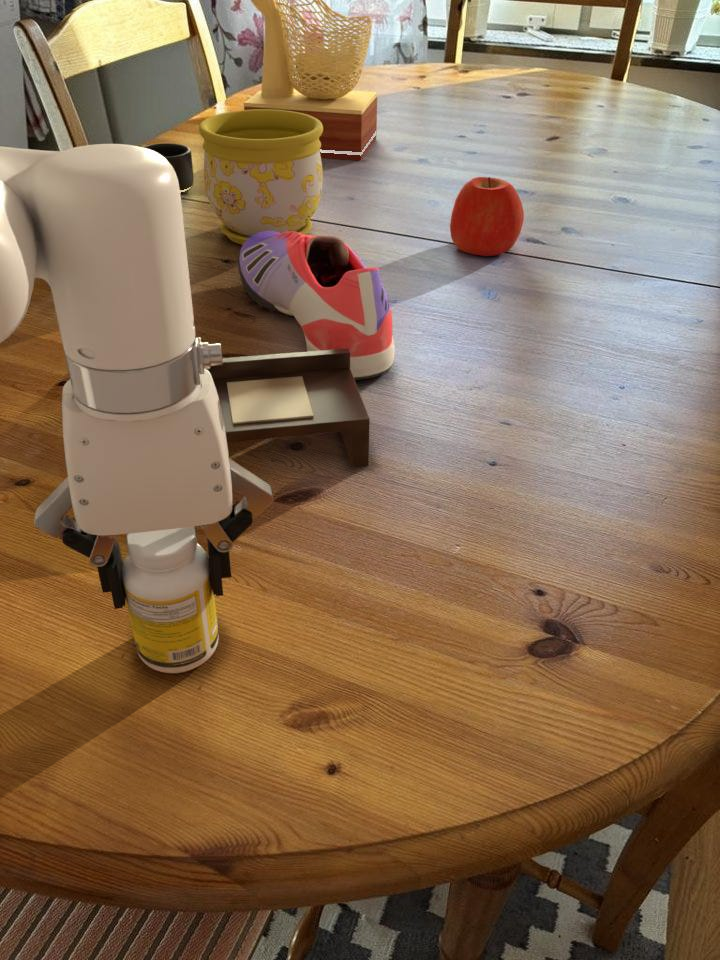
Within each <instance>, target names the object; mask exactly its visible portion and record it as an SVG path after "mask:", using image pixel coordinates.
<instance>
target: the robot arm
mask: <svg viewBox="0 0 720 960" xmlns="http://www.w3.org/2000/svg"><path fill="white" fill-rule="evenodd" d="M143 147H144V146H138V145H132V144H123V143H98V144H87V145H80V146H74V147H70V148H67V149H64V150H61V151H60V150H43V149H42V150H41V149H31V148H19V147H11V146H10V147H9V146H1V145H0V344H1V343H3V342H4V341H5V340H7V339H8V338H10V337H11V336H12V334H13V333H14V332H15V331H16V330H17V329H18V327H19V326H20V325H21V323H22V322H23V320H24V319H25V316H26V315H27V312H28V310H29V307H30V304H31V300H32V299H31V298H32V295H33V290H34V285H35V280H36V279H41V280H44V281H45V282H46V283H47V284H48V286H49V287H50V291H51V296H52V300H53V305H54V311H55V315H56V319H57V324H58V329H59V334H60V338H61V343H62V348H63V352H64V357H65V361H66V367H67V370H68V376H69V379H68V380H67V381H66V383H64V385H63V387H62V394H61V395H62V396H61V416H62V417H61V419H62V436H63V437H62V439H63V449H64V458H65V459H64V460H65V467H66V472H67V473H66V474H67V476H66V478H64V480H63V481H62V482H60V484H59V485H58V486H57V487H56V488H54V490H53V491H52V492H51V493H50V494H49V495H48V496H47V498H45V500H44V501H42V503H41V504H40V505H38V507H37V508H36V509H35V513H34V520H33V525H34V527H35V528H37V530H40V531H42V532H44V533H46V534H47V535H49V536H51V537H53V538H55V539H59V540H61V541H62V543H63V545H65V546H66V547H67V548H70V549H71V550H74V551H75V552H77V553H79V554H81V555H83V556H85V557H87V558H89V564H90V565H92V566H93V567H96V569H97V574H98V578H99V582H100V586H101V591H102V593H104V594H105V593H111V598H112V603H113V608H114V609H115V610H117V609H123V607H125V606H126V597H125V592H124V587H123V582H122V566H123V563H124V560H123V556H122V555H123V554H122V550H121V545H120V542H119V540H118V541H117V537H118V536H119V535H127V534H130V533H140V532H149V531H158V530H167V529H176V528H184V527H192V526H194V527H199V528H200V529H201V531H202V532H203V533H204V535H205V536H206V540H207V555H208V557H209V563H210V572H211V580H212V589H213V595H214V596H215V597H223V596H224V588H223V587H224V586H223V579H229V578H232V570H231V568H232V567H231V558H230V551H231V550H232V549H233V547H234V546H233V545H234V544H233V543H234V542H235V541H236V540H237V539H238V538H240V536H241V535H242V534H244V532H245V531H247V530H248V529H249V528H250V527H251V526H252V525H253V521H254V520H255V518H256V517H257V518H258V517H259V516H260V515H261V514H262V513H263V512H264V511H266V509H267V508H268V507H269V506H270V505H271V504H272V503H273V502H274V494H273V488H272V486H271V484H270V483H268V482H266V481H265V480H263V479H262V478H260V477H259V476H257V475H256V474H254V473H252V472H251V471H250V470H248V469H246V468H245V467H244V466H242V465H241V464H239V463H238V462H236V461H234V460H233V459H231V458H230V453H229V447H228V443H227V439H226V433H225V426H224V420H223V414H222V410H221V405H220V401H219V398H218V394H217V390H216V387H215V384H214V381H213V379H212V376H211V374H210V372H209V371H208V370H206V369H210V368H211V367H210V366H217V365H223V361H222V358H223V351H222V344H221V343H209V342H208V341H203V342H202V338H201V337H199V336H197V337H196V326H195V316H194V308H193V307H194V306H193V301H192V299H193V298H192V290H191V282H190V281H191V280H190V272H189V262H188V261H189V260H188V253H187V252H188V251H187V241H186V232H185V223H184V213H183V205H182V204H183V203H182V195H180V188H179V182H178V178H177V175H176V173H175V171H174V169H173V167H172V165H171V164H170V163H169V162H168V161H167V160H166V158H165V157H163V156H162V155H160V154H158V153H157V152H155V151H153V150H150V149H147V148H143ZM233 491H235V492H236V493H237V494H239V495H241V496H243V497H242V499H240V500H237V501H236V502H234V504H233V499H234V498H233ZM71 509H72V511H73V515H74V517H70V515H68V514H67V513H68V512H69V511H70V510H71Z"/></svg>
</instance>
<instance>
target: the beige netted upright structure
mask: <svg viewBox="0 0 720 960" xmlns="http://www.w3.org/2000/svg"><path fill="white" fill-rule="evenodd" d="M250 1H251V3H252V5H253V6H254V7H255V8H256V9H257V11H258V12H260V13H261V14H262V15H263V17H264V42H263V43H264V44H263V60H262V61H263V62H262V76H261V77H262V79H261V89H260V90H258V91H257V92H256V93H254V94H253V95H252V96H251V97H249V98H248V99H246V100H245V101H243V110H255V109H270V110H285V111H292V112H298V113H303V114H306V115H310V116H312V117H315V118H316V119H318V120H319V121H320V122H321V123H322V125H323V132H322V134H321V136H320V137H319V141H320V142H321V148H320V149H322V150H335V151H352V152H362V150H363V149H364V147H365V146H366V144H367V143H368V142H369V140H370V139H371V137H372V136H373V134H374V133H375V131H376V132H377V130H378V129H377V128H378V126H377V124H378V122H377V121H378V119H377V118H378V91H365V90H354V89H355V87H356V86H357V84H359V81H360V79H361V77H362V72H363V69H364V66H365V61H366V57H367V53H368V50H369V46H370V43H371V35H372V26H373V23H372V22H373V21H372V18H371V17H370V16H369V15H363V16H352V17H347V16H346V15H343V14H341V13H339V12H337V11H335V10H333V9H331V7H330V6H329V5H328V4H327V3H326V2H325V1H324V0H312V1H311V2H310V1H309V0H305V2H307V3H305V2H304V1H302V0H298V1H299V2H300V3H298V2H297V1H296V0H250ZM291 1H292V2H294V3H295V4H293V3H292V2H291ZM314 3H315V4H316V6H317V7H318V9H319V10H320V11H318V10H317V9H316V8H315V7H314V5H313V4H314ZM309 6H310V7H311V8H312V9H313V10H312V9H311V8H310V7H309ZM298 7H300V8H301V9H302V10H301V9H299V8H298ZM305 7H306V8H307V9H306V8H305ZM305 13H307V14H308V15H309V16H310V17H309V16H308V15H306V14H305ZM316 14H317V15H316ZM321 14H322V15H321ZM302 15H303V16H304V17H303V16H302ZM313 16H314V17H313ZM318 16H319V18H320V19H319V18H318ZM323 16H324V17H323ZM332 17H333V18H334V19H333V18H332ZM339 18H340V19H339ZM325 19H326V20H325ZM307 20H308V21H309V22H308V21H307ZM312 21H314V23H313V22H312ZM351 21H352V22H351ZM360 21H363V22H360ZM323 22H324V23H325V24H326V25H327V26H326V25H325V24H324V23H323ZM338 22H339V23H338ZM345 22H346V23H349V24H346V23H345ZM299 23H300V24H301V25H302V26H301V25H300V24H299ZM340 23H341V24H340ZM354 23H357V24H354ZM320 24H321V25H320ZM320 33H321V34H320ZM360 35H361V36H360ZM324 37H325V38H324ZM320 38H321V39H320ZM293 47H294V48H293ZM376 140H377V135H376V136H375V137H374V138H373V140H372V141H371V142H370V144H369V145H368V147H367V148H366V149H365V151H364V152H363V154H362V155H361V156H360V155H347V154H334V153H321V152H320V156H321V159H322V158H323V159H332V160H333V159H334V160H346V161H348V160H349V161H360V162H361V161H362V160H363V159H364V157H365V156H366V154H367V153H368V152H369V150H370V149H371V147H372V146H373V145H374V143H375V142H376ZM374 141H375V142H374Z"/></svg>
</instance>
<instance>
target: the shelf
mask: <svg viewBox="0 0 720 960" xmlns="http://www.w3.org/2000/svg"><path fill="white" fill-rule="evenodd" d="M222 361H223V365H217V366H210V367H211V368H210V369H206V370H208V371H209V372H210V374H211V376H212V379H213V381H214V384H215V387H216V390H217V394H218V398H219V401H220V405H221V410H222V414H223V420H224V426H225V433H226V439H227V444H228V443H238V442H250V441H260V440H268V439H269V440H270V439H271V440H272V439H281V438H291V437H293V438H294V437H302V436H303V437H304V436H311V435H314V436H315V435H323V434H325V435H326V434H334V433H340V434H341V437H342V440H343V442H344V445H345V446H344V447H345V449H346V451H347V455H348V458H349V461H350V464H351V467H352V468H363V467H369V464H370V463H369V460H370V457H369V456H370V426H371V425H370V423H371V422H370V421H371V419H370V416H369V414H368V411H367V409H366V405H365V403H364V400H363V399H362V396H361V395H362V394H361V393H360V391H359V388H358V385H357V383H356V380H354V377H353V375H352V372H351V370H350V351H349V349H348V348H347V349H334V350H321V351H297V352H296V351H295V352H284V353H271V354H260V355H259V354H258V355H257V354H256V355H245V356H234V357H222Z"/></svg>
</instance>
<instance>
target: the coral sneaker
mask: <svg viewBox="0 0 720 960" xmlns="http://www.w3.org/2000/svg"><path fill="white" fill-rule="evenodd" d="M237 269H238V274H239V277H240V280H241V283H242V285H243V287H244V290H245V291H246V293H247V295H248V296H249V297H250V299H251V300H252V301H254V302H255V303H257V304H258V306H259V309H263V308H266V309H268V310H269V311H270V312H271V313H275V312H277V313H280V314H284V316H286V317H289V318H290V317H291V316H293V317H294V318H295V320H296V321H297V323H298V324H299V325H300V327H301V329H302V331H303V334H304V335H303V336H304V339H305V344H306V352H308V351H321V350H334V349H347V348H348V349H349V351H350V370H351V372H352V375H353V377H354V380H355V381H357V380H365V379H366V380H367V379H371V378H375V377H379V376H381V375H384V374H385V373H386V374H387V373H388V372H390V370H391V368H392V367H393V366H394V363H395V356H396V355H395V354H396V349H395V343H394V341H395V340H394V338H393V334H394V333H393V332H394V331H393V329H394V328H393V313H392V309H391V305H390V301H389V297H388V294H387V292H386V289H385V287H384V285H383V283H382V279H381V272H380V269H379V268H378V267H375V266H374V267H368V266H367V265H366V263H364V261H363V260H362V259H361V258H360V256H359V254H357V253H356V251H354V250H353V248H351V247H350V246H349V245H348V244H347V243H346V242H344V240H342V239H341V238H340V237H338V236H335V235H314V234H313V235H312V234H311V235H309V234H306V235H304V234H301V233H298V232H295V231H290V232H289V231H287V232H283V233H279V232H274V231H265V232H260V233H257V234H255V235H253V236H252V237H250V238H249V239H247V240H246V241H245V243H244V244H243V245H241V248H240V250H239V253H238V256H237Z"/></svg>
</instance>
